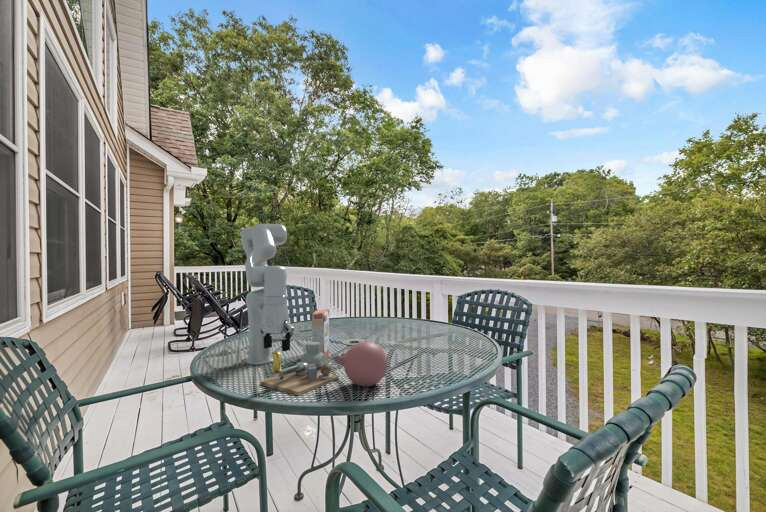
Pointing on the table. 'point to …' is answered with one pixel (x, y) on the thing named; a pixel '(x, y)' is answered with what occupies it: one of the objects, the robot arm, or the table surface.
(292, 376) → the base
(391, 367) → the table surface
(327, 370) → the walnut ball
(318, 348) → the air freshener
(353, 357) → the balloon
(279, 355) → the lever
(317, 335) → the cracker box
